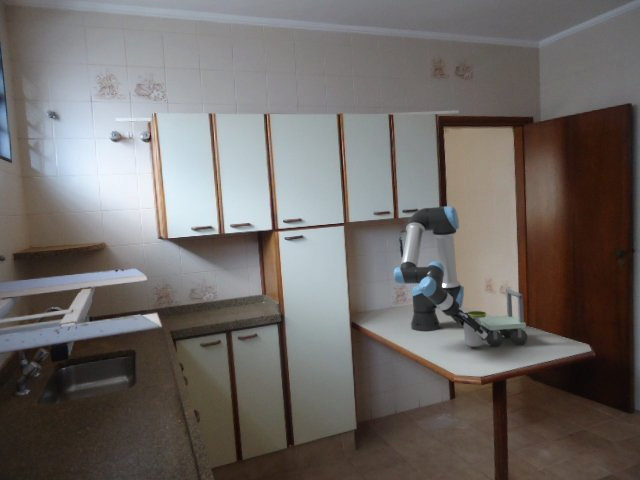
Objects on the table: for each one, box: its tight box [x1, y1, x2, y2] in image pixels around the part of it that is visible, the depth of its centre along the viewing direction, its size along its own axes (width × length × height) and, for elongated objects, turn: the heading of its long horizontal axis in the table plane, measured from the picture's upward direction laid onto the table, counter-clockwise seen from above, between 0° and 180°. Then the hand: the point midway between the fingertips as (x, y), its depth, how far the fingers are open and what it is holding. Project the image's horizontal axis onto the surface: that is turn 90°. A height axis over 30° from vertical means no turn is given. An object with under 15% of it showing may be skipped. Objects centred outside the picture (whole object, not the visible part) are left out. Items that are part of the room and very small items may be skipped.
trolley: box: [479, 288, 528, 348], centre depth 212 cm, size 16×18×23 cm
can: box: [463, 317, 483, 348], centre depth 206 cm, size 8×8×12 cm
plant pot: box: [466, 310, 487, 318], centre depth 235 cm, size 9×9×9 cm
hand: (479, 334), depth 207 cm, fingers closed on can, 7 cm apart
